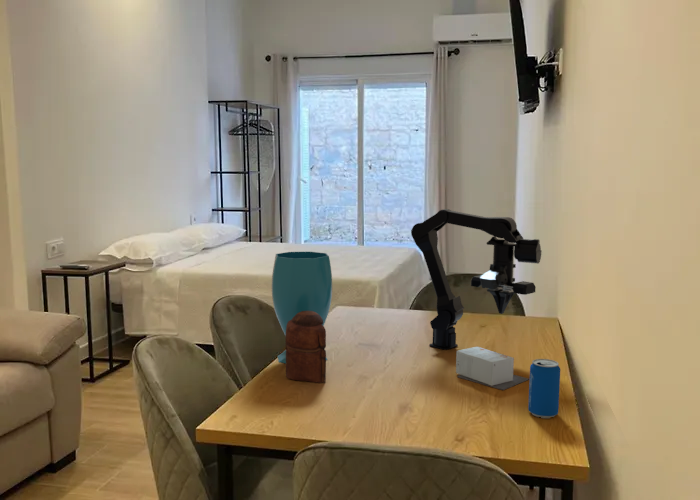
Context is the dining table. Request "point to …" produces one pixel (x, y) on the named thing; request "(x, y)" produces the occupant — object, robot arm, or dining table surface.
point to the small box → (484, 365)
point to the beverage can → (544, 388)
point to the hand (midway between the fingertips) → (501, 313)
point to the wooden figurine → (306, 348)
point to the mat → (503, 385)
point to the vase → (301, 286)
